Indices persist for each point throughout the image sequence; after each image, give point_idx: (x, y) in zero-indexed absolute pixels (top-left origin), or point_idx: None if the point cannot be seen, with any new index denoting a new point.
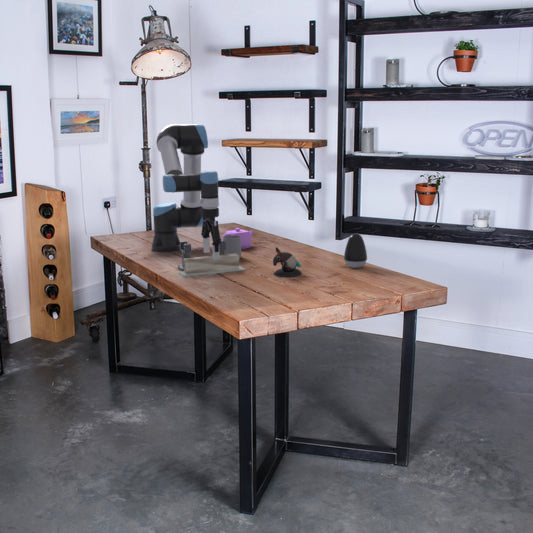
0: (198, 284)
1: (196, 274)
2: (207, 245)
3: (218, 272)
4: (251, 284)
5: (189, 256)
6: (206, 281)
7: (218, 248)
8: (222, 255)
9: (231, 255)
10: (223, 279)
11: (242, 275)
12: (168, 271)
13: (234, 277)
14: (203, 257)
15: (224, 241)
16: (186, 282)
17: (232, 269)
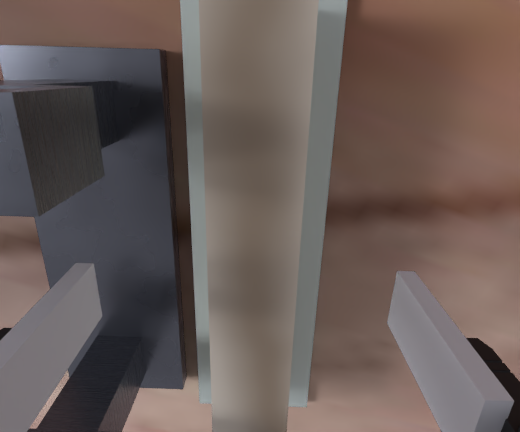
0: None
1: (312, 344)
2: (55, 335)
3: (325, 209)
4: None
5: (114, 402)
6: (476, 334)
7: (512, 376)
8: (239, 176)
9: (287, 80)
10: (504, 236)
11: (495, 65)
12: (144, 424)
13: (508, 149)
14: (243, 352)
15: (24, 118)
16: (425, 416)
17: None
